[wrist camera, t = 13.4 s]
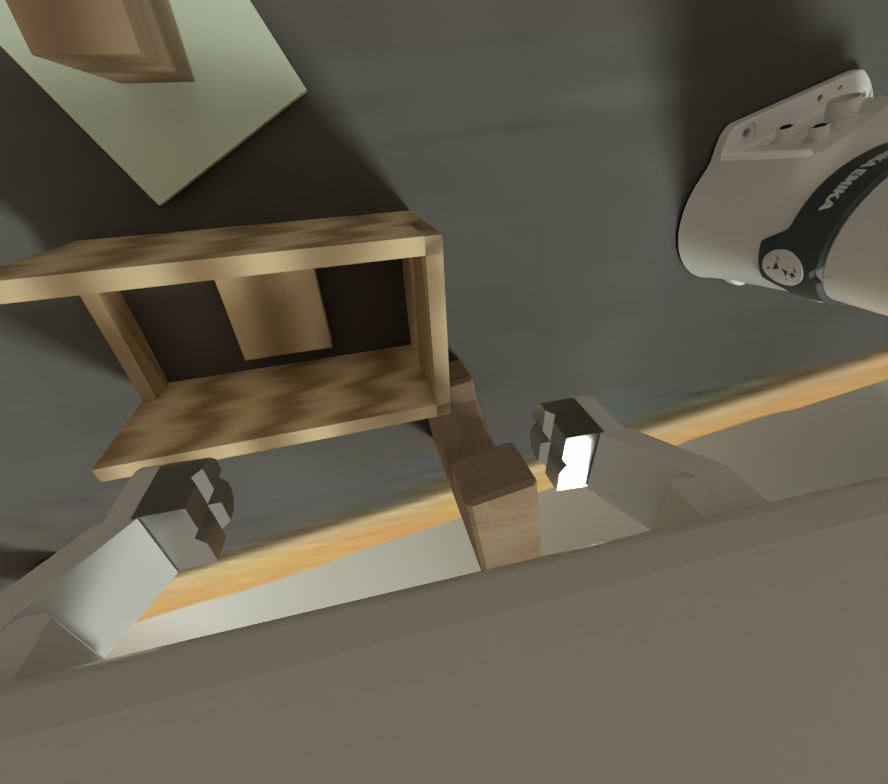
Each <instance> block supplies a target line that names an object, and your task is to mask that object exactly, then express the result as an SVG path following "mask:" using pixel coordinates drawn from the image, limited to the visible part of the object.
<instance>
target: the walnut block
mask: <svg viewBox="0 0 888 784" xmlns="http://www.w3.org/2000/svg"><path fill="white" fill-rule="evenodd" d="M5 1H6V3H7V5H8V7H9V9H10V11H11V13H12V15H13V17H14V19H15V21H16V23H17V25H18V27H19V29H20V31H21V33H22V35H23V37H24V39H25V41H26V44H27V46H28V48H29V50H30V52H31V54H32V55H33V56H36V57H40V58H43V59H46V60H49V61H52V62H55V63H58V64H61V65H64V66H67V67H70V68H74V69H77V70H80V71H83V72H86V73H89V74H92V75H95V76H98V77H101V78H104V79H108V80H111V81H114V82H117V83H120V84H128V83H168V82H195V79H194V76H193V73H192V70H191V67H190V64H189V61H188V58H187V54H186V51H185V48H184V45H183V42H182V39H181V36H180V33H179V30H178V26H177V23H176V20H175V17H174V14H173V11H172V8H171V5H170V1H169V0H5Z"/></svg>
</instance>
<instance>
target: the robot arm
mask: <svg viewBox="0 0 888 784" xmlns="http://www.w3.org/2000/svg"><path fill="white" fill-rule="evenodd" d="M743 132H744V133H743ZM678 247H679V254H680V257H681V260H682V262H683V264H684V266H685V267H686V268H687V270H689V271H690V272H691V273H692V274H694V275H696V276H699V277H704V278H719V279H723V280H725V281H726V282H728V283H730V284H735V285H744V284H745V283H748V284H753V285H759V286H764V287H769V288H774V289H780V290H785V291H788V292H790V293H792V294H796V295H799V296H802V297H805V298H809V299H811V300H812V301H816V302H822V303H823V302H824V303H827V304H832V305H842V304H849V305H852V306H856V307H859V308H862V309H866V310H869V311H873V312H876V313H879V314H883V315H886V316H888V96H880V97H873V90H872V85H871V82H870V79H869V77H868V75H867V73H866V72H865V71H864V70H863V69H853V70H849V71H847V72H844V73H842V74H840V75H837V76H835V77H833V78H831V79H828V80H826V81H824V82H822V83H819V84H817V85H815V86H813V87H811V88H808V89H806V90H804V91H802V92H799V93H797V94H795V95H793V96H790V97H788V98H786V99H784V100H781V101H779V102H777V103H775V104H772V105H770V106H768V107H766V108H763V109H761V110H759V111H757V112H755V113H752V114H750V115H748V116H746V117H743V118H741V119H739V120H737V121H734V122H732V123H730V124H729V125H728V126H726V127H725V129H724V130H723V131H722V133H721V135H720V137H719V139H718V142H717V144H716V147H715V150H714V153H713V156H712V159H711V162H710V164H709V165H708V167H707V169H706V171H705V172H704V174H703V175H702V177H701V178H700V180H699V181H698V183H697V185H696V186H695V188H694V190H693V192H692V193H691V195H690V197H689V199H688V202H687V204H686V206H685V209H684V212H683V215H682V218H681V222H680V227H679V235H678ZM533 417H534V419H535V420H536V423H535V424H534V426H533V427H532V428H531V434H530V440H531V447H532V450H533V452H534V455H535V457H536V458H537V460H538V461H539V462H541V463H542V464H544V465H546V472H545V473H546V475H547V476H548V478H549V480H550V481H551V483H552V484H553V486H554V488H555V489H556V491H560V490H566V489H571V488H577V487H583V486H587V488H589V489H590V490H591V491H593V492H594V493H596V494H597V495H599V496H600V497H602V498H604V499H605V500H606V501H608V502H610V503H611V504H612V505H614V506H615V507H617V508H618V509H620V510H622V511H623V512H625V513H626V514H627V515H629V516H630V517H632V518H634V519H635V520H637V521H638V522H640V523H641V524H643V525H644V526H646V527H647V528H649V529H650V531H648V532H644V533H640V534H635V535H631V536H627V537H623V538H619V539H614V540H610V541H606V542H602V543H597V544H593V545H589V546H585V547H580V548H576V549H572V550H567V551H563V552H559V553H555V554H551V555H546V556H542V557H538V558H534V559H530V560H525V561H521V562H517V563H513V564H509V565H504V566H500V567H496V568H492V569H487V570H483V571H479V572H475V573H471V574H467V575H463V576H458V577H454V578H450V579H445V580H441V581H437V582H433V583H428V584H424V585H420V586H415V587H411V588H407V589H403V590H398V591H395V592H390V593H386V594H381V595H377V596H373V597H369V598H365V599H360V600H356V601H352V602H348V603H343V604H339V605H335V606H331V607H326V608H322V609H318V610H314V611H310V612H306V613H301V614H297V615H292V616H288V617H284V618H280V619H276V620H271V621H268V622H263V623H259V624H254V625H250V626H246V627H242V628H237V629H233V630H229V631H225V632H220V633H216V634H212V635H208V636H203V637H200V638H195V639H191V640H187V641H182V642H178V643H174V644H170V645H166V646H161V647H157V648H153V649H149V650H144V651H140V652H136V653H131V654H127V655H123V656H119V657H115V658H110V659H104V658H105V657H106V656H107V654H108V653H109V652H110V651H111V650H112V649H113V648H114V646H115V645H116V644H117V643H118V642H119V641H120V639H121V638H122V637H123V636H124V635H125V634H126V632H127V631H128V630H129V629H130V628H131V627H132V626H133V624H134V623H135V622H136V621H137V620H138V619H139V617H140V616H141V615H142V614H143V613H144V612H145V610H146V609H147V608H148V607H149V606H150V605H151V603H152V602H153V601H154V600H155V599H156V598H157V597H158V595H159V594H160V593H161V592H162V591H163V590H164V588H165V587H166V586H167V585H168V584H169V583H170V581H171V580H172V579H173V578H174V577H175V576H176V575H177V573H178V572H177V571H179V570H183V569H187V568H192V567H196V566H200V565H204V564H209V563H213V562H217V561H219V558H220V554H221V551H222V548H223V544H224V541H225V538H226V535H225V533H224V532H223V530H222V528H223V527H224V526H225V525H226V524H227V523H228V522H229V521H230V520H231V517H232V514H233V509H234V498H233V494H232V490H231V487H230V485H229V483H228V482H227V481H225V480H223V479H221V478H219V474H220V471H221V468H220V466H219V464H218V462H217V461H216V459H214V458H211V457H209V458H202V459H195V460H188V461H181V462H174V463H167V464H164V465H156V466H149V467H143V468H140V469H139V470H137V471H135V473H134V474H133V476H132V477H131V479H130V480H129V482H128V483H127V485H126V487H125V488H124V490H123V491H122V493H121V494H120V496H119V498H118V499H117V501H116V502H115V504H114V505H113V507H112V508H111V510H110V512H109V513H108V515H107V516H106V518H105V519H104V521H103V522H102V524H101V525H99V526H94V527H92V528H90V529H89V530H87V531H86V532H85V533H83V534H82V535H80V536H79V537H78V538H76V539H75V540H73V541H72V542H71V543H69V544H68V545H67V546H65V547H64V548H62V549H61V550H60V551H58V552H57V553H55V554H54V555H53V556H51V557H50V558H49V559H47V560H46V561H44V562H43V563H42V564H40V565H39V566H37V567H36V568H35V569H33V570H32V571H30V572H29V573H28V574H26V575H25V576H24V577H22V578H21V579H19V580H18V581H17V582H15V583H14V584H12V585H11V586H10V587H8V588H7V589H5V590H4V591H3V592H1V593H0V784H888V475H885V476H881V477H877V478H872V479H868V480H864V481H860V482H855V483H852V484H847V485H843V486H839V487H835V488H830V489H826V490H822V491H818V492H814V493H810V494H805V495H801V496H797V497H792V498H788V499H784V500H780V501H776V502H772V503H770V502H769V501H768V500H766V499H765V498H764V497H763V496H761V494H759V493H758V492H757V491H756V490H754V489H753V488H752V487H751V486H750V485H749V484H747V483H746V482H745V481H744V480H743V479H741V478H740V477H739V476H738V475H737V474H736V473H734V472H733V471H732V470H731V469H730V468H728V467H727V466H725V465H723V464H720V463H718V462H715V461H713V460H710V459H707V458H705V457H702V456H700V455H697V454H694V453H692V452H690V451H687V450H685V449H682V448H679V447H677V446H674V445H672V444H669V443H667V442H664V441H662V440H659V439H657V438H654V437H651V436H649V435H646V434H644V433H641V432H639V431H636V430H634V429H631V428H626V429H624V428H623V427H622V426H621V425H620V424H619V423H618V422H617V421H616V420H615V419H614V418H613V417H612V416H611V415H610V414H609V413H608V412H607V411H606V410H605V409H604V408H603V407H602V406H601V405H600V404H599V403H598V402H597V401H596V400H595V399H594V398H593V397H592V396H591V395H588V394H585V395H580V396H575V397H570V398H567V399H561V400H555V401H549V402H543V403H537V404H535V406H534V408H533Z"/></svg>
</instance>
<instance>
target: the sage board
mask: <svg viewBox="0 0 888 784" xmlns="http://www.w3.org/2000/svg"><path fill="white" fill-rule="evenodd" d="M169 1H170V5H171V8H172V11H173V14H174V17H175V20H176V23H177V26H178V30H179V33H180V36H181V39H182V42H183V45H184V48H185V51H186V54H187V58H188V61H189V64H190V67H191V70H192V73H193V76H194V79H195V82H168V83H128V84H120V83H117V82H114V81H111V80H108V79H104V78H101V77H98V76H95V75H92V74H89V73H86V72H83V71H80V70H77V69H74V68H70V67H67V66H64V65H61V64H58V63H55V62H52V61H49V60H46V59H43V58H40V57H36V56H33V55H32V54H31V52H30V50H29V48H28V46H27V44H26V41H25V39H24V37H23V35H22V33H21V31H20V29H19V27H18V25H17V23H16V21H15V19H14V17H13V15H12V13H11V11H10V9H9V7H8V5H7V3H6V1H5V0H0V46H1V47H2V48H3V49H4V50H5V51H6V52H7V53H8V54H9V55H10V56H11V57H12V58H13V59H14V60H15V61H16V62H17V63H18V64H19V65H20V66H21V67H22V68H23V69H24V70H25V71H26V72H27V73H28V74H29V75H30V76H31V77H32V78H33V79H34V80H35V81H36V82H37V83H38V84H39V85H40V86H41V87H42V88H43V89H44V90H45V91H46V92H47V93H48V94H49V95H50V96H51V97H52V98H53V99H54V100H55V101H56V102H57V103H58V104H59V105H60V106H61V107H62V108H63V109H64V110H65V111H66V112H67V113H68V114H69V115H70V116H71V117H72V118H73V119H74V120H75V121H76V122H77V123H78V124H79V125H80V126H81V127H82V128H83V129H84V130H85V131H86V132H87V133H88V134H89V135H90V136H91V137H92V138H93V139H94V141H95V142H96V143H97V144H98V145H99V146H100V147H101V148H102V149H103V150H104V151H105V152H106V153H107V154H108V155H109V156H110V157H111V158H112V159H113V160H114V161H115V162H116V163H117V164H118V165H119V166H120V167H121V168H122V169H123V170H124V171H125V172H126V173H127V174H128V175H129V176H130V177H131V178H132V179H133V180H134V181H135V182H136V183H137V184H138V185H139V186H140V187H141V188H142V189H143V190H144V191H145V192H146V193H147V194H148V195H149V196H150V197H151V198H152V199H153V200H154V201H155V202H156V203H157V204H158V205H159V206H160V205H163V204H165V203H166V202H168V201H169V200H170V199H172V198H173V197H174V196H175V195H177V194H178V193H179V192H180V191H182V190H183V189H184V188H186V187H187V186H188V185H189V184H191V183H192V182H193V181H194V180H196V179H197V178H198V177H200V176H201V175H202V174H203V173H205V172H206V171H207V170H208V169H210V168H211V167H212V166H214V165H215V164H216V163H217V162H219V161H220V160H221V159H222V158H224V157H225V156H226V155H228V154H229V153H230V152H231V151H233V150H234V149H235V148H236V147H238V146H239V145H240V144H242V143H243V142H244V141H245V140H247V139H248V138H249V137H250V136H252V135H253V134H254V133H256V132H257V131H258V130H259V129H261V128H262V127H263V126H264V125H266V124H267V123H268V122H269V121H271V120H272V119H273V118H275V117H276V116H277V115H278V114H280V113H281V112H282V111H283V110H285V109H286V108H287V107H289V106H290V105H291V104H292V103H294V102H295V101H296V100H297V99H299V98H300V97H301V96H303V95H304V94H305V93H306V92H307V90H306V88H305V86H304V85H303V83H302V82H301V80H300V79H299V77H298V75H297V74H296V72H295V71H294V69H293V68H292V66H291V64H290V63H289V61H288V60H287V58H286V56H285V55H284V53H283V52H282V50H281V49H280V47H279V45H278V44H277V42H276V41H275V39H274V38H273V36H272V34H271V33H270V31H269V30H268V28H267V27H266V25H265V23H264V22H263V20H262V19H261V17H260V16H259V14H258V12H257V11H256V9H255V8H254V6H253V5H252V3H251V1H250V0H169Z"/></svg>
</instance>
